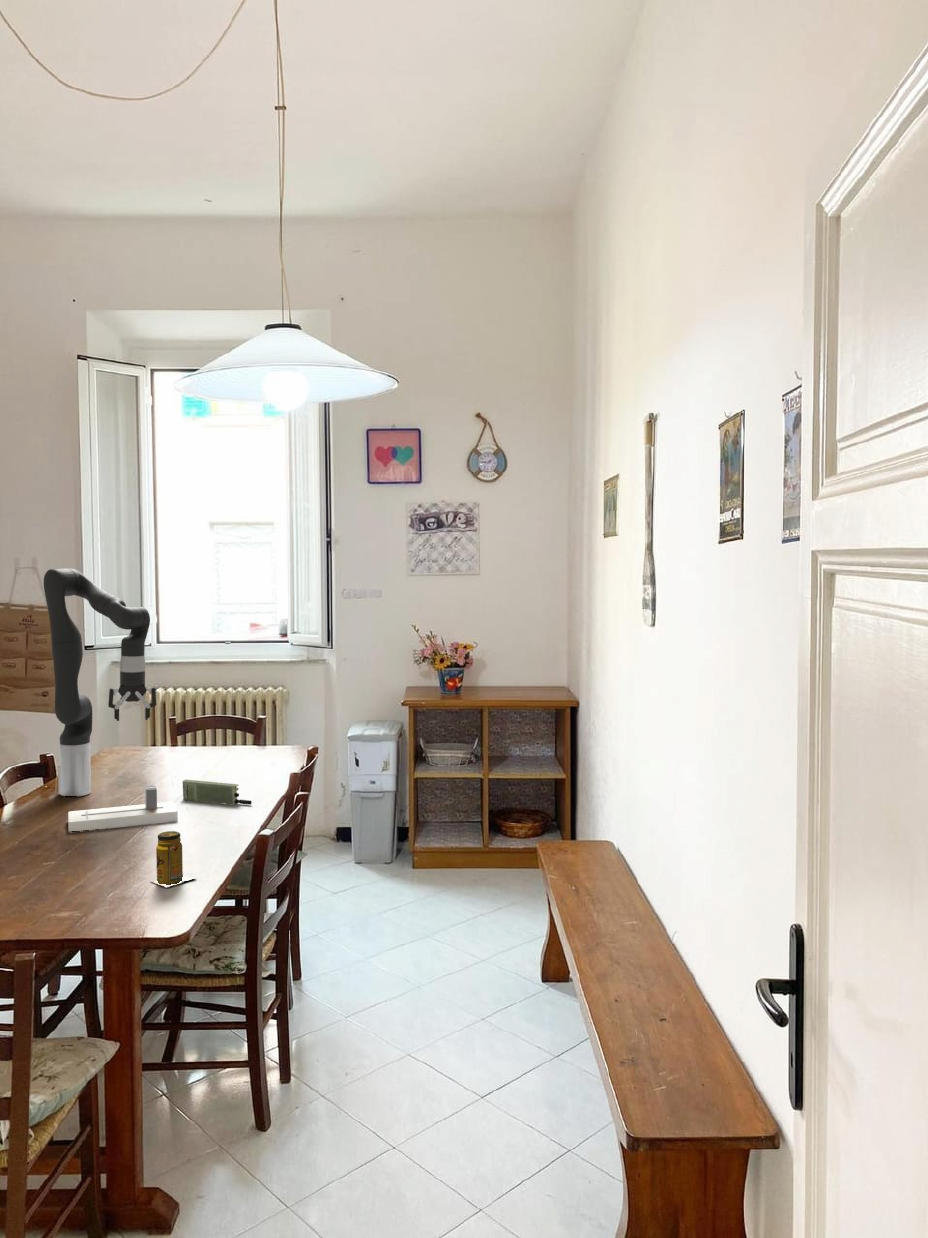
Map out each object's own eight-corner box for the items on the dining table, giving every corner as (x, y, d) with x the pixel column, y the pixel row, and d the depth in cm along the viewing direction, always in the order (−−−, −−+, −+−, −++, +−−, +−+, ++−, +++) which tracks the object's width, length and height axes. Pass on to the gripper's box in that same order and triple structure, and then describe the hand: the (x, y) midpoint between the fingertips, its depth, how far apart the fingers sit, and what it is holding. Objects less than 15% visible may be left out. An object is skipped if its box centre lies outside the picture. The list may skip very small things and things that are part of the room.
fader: (146, 810, 270) (146, 790, 270) (145, 805, 275) (144, 786, 274) (157, 809, 271) (156, 789, 271) (155, 804, 276) (155, 785, 275)
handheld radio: (187, 798, 298) (253, 805, 290) (181, 801, 295) (248, 808, 287) (187, 778, 297) (253, 784, 289) (180, 781, 294) (247, 787, 286)
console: (68, 832, 258) (68, 822, 258) (68, 821, 269) (68, 811, 269) (177, 821, 270) (177, 811, 270) (173, 810, 281) (173, 801, 281)
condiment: (149, 882, 219) (148, 834, 219) (180, 873, 226) (179, 826, 225) (166, 889, 215) (165, 840, 214) (197, 880, 221) (196, 832, 220)
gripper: (108, 671, 280) (108, 723, 281) (157, 670, 285) (156, 721, 286) (108, 668, 287) (108, 719, 288) (155, 667, 292) (154, 717, 293)
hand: (132, 720), depth 287 cm, fingers open, 8 cm apart
